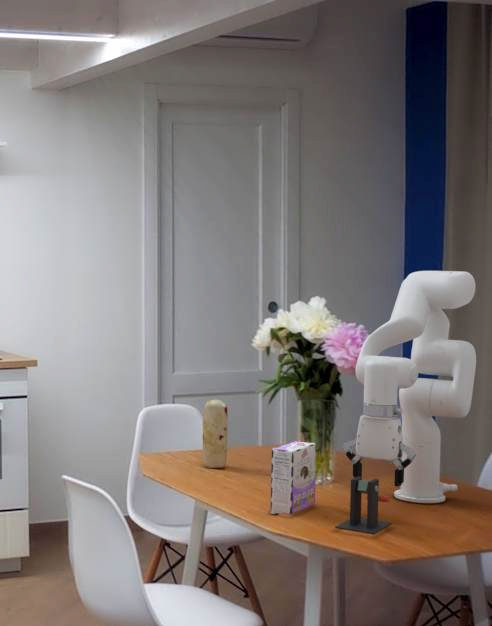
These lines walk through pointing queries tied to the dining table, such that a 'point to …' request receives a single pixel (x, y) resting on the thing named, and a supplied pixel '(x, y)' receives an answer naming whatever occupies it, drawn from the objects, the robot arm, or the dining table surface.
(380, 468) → the dining table surface
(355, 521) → the two-post lever stand
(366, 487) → the switch lever
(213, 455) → the food model
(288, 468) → the candy box
